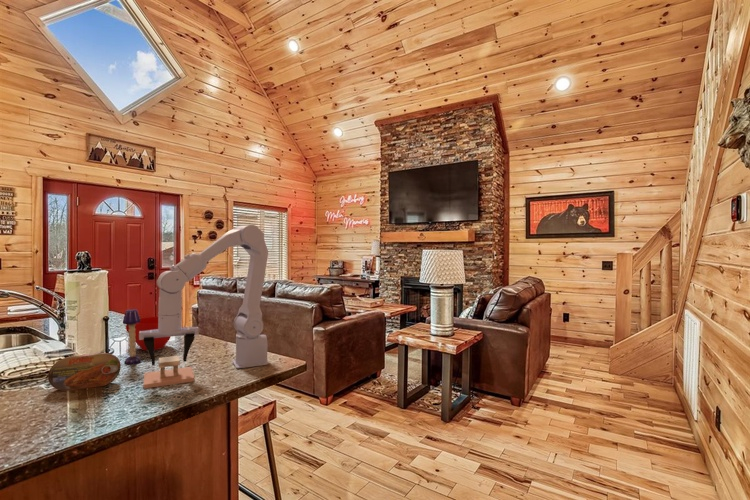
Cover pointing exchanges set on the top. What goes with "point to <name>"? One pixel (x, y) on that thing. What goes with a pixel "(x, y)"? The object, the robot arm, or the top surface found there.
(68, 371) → the tin
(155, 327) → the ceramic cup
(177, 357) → the toy stool
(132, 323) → the toy lamp
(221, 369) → the top surface
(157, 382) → the mat
